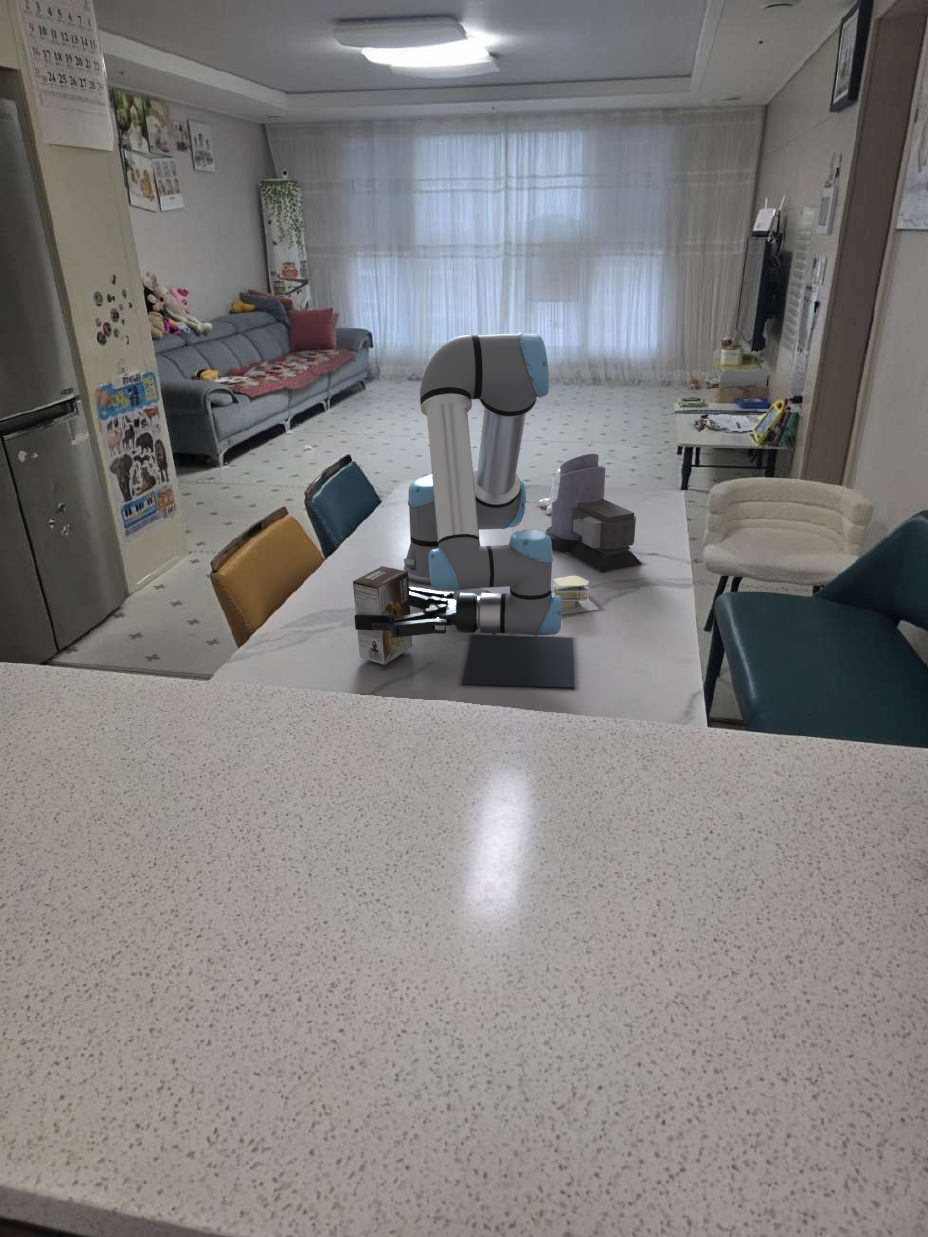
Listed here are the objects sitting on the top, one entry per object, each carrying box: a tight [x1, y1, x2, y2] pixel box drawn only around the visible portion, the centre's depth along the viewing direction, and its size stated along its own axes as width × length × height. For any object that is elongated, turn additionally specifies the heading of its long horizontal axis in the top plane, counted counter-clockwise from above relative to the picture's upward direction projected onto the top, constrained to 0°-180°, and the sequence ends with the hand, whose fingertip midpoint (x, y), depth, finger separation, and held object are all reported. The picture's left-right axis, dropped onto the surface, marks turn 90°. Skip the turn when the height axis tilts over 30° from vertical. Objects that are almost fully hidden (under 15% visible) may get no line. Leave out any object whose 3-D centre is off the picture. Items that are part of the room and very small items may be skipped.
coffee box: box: [352, 565, 414, 666], centre depth 156 cm, size 9×6×16 cm
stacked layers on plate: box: [552, 575, 600, 616], centre depth 179 cm, size 10×9×6 cm
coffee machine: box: [545, 453, 643, 573], centre depth 206 cm, size 30×16×24 cm, turn 25°
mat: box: [462, 634, 575, 690], centre depth 157 cm, size 20×20×1 cm
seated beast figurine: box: [539, 468, 560, 515], centre depth 240 cm, size 10×9×12 cm
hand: (361, 609), depth 156 cm, fingers closed on coffee box, 10 cm apart
